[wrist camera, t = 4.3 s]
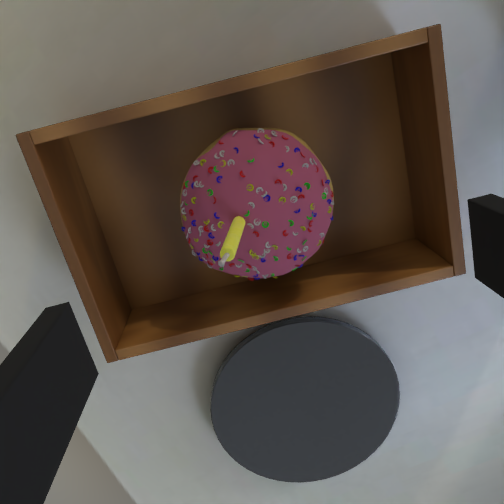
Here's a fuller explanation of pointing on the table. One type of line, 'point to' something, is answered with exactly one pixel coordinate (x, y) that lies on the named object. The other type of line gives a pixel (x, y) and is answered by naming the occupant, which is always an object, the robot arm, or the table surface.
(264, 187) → the cupcake
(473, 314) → the table surface
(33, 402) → the robot arm
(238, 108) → the wooden box
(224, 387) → the plate
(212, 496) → the table surface
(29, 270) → the table surface
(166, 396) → the table surface
